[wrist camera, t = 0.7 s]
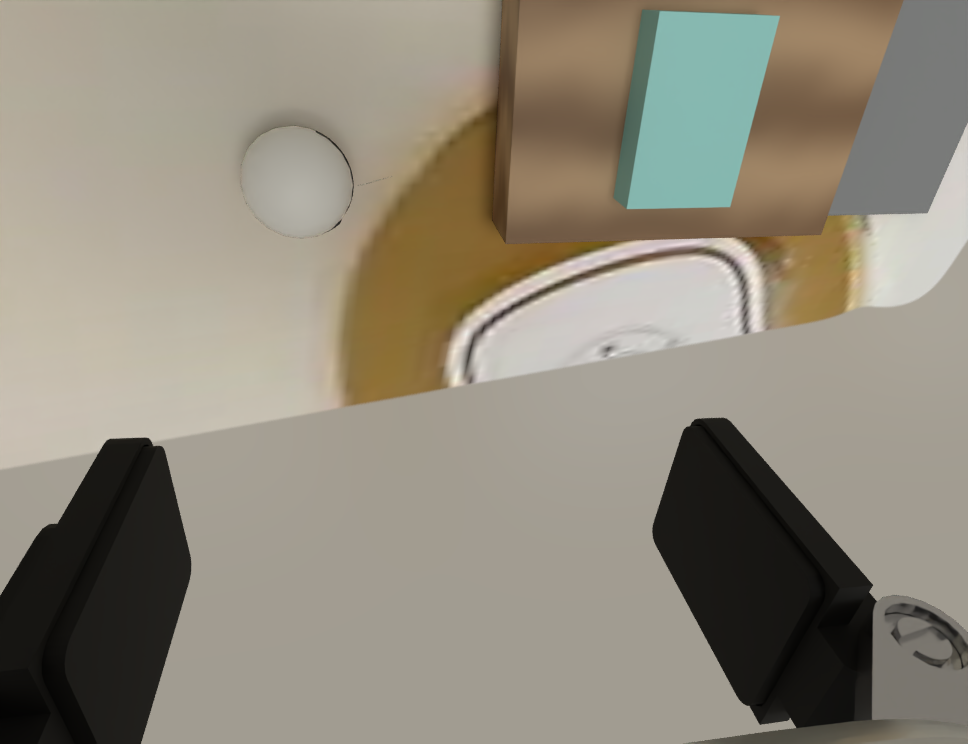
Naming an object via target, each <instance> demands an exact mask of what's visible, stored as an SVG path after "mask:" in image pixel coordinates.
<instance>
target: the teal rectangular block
mask: <svg viewBox="0 0 968 744" xmlns="http://www.w3.org/2000/svg"><path fill="white" fill-rule="evenodd" d="M779 18H780V16H774V15H760V14H739V13H714V12H689V11H665V10H642V15H641V21H640V28H639V34H638V41H637V47H636V54H635V60H634V67H633V73H632V80H631V86H630V93H629V99H628V106H627V112H626V119H625V125H624V132H623V138H622V145H621V151H620V158H619V164H618V171H617V178H616V184H615V191H614V197H613V198H614V199H615V200H616V201H617V202H619V203H620V204H621V205H622V206H624V207H625V208H626V209H660V208H712V207H730V206H731V202H732V198H733V194H734V190H735V187H736V183H737V179H738V175H739V171H740V167H741V164H742V160H743V156H744V152H745V148H746V144H747V141H748V137H749V133H750V129H751V125H752V121H753V118H754V114H755V110H756V106H757V102H758V99H759V95H760V91H761V87H762V83H763V79H764V76H765V72H766V68H767V64H768V60H769V56H770V53H771V49H772V45H773V41H774V37H775V33H776V30H777V26H778V22H779Z"/></svg>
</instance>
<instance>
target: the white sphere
mask: <svg viewBox="0 0 968 744" xmlns="http://www.w3.org/2000/svg"><path fill="white" fill-rule="evenodd" d="M391 177H392V176H391ZM388 178H389V177H388ZM385 179H386V178H385ZM380 180H382V179H380ZM376 181H378V180H376ZM373 182H374V181H373ZM370 183H371V182H370ZM367 184H368V183H367ZM362 185H364V184H362ZM358 186H360V185H358ZM241 188H242V192H243V195H244V198H245V201H246V204H247V205H248V207H249V208H250V210H251V211H252V213H253V214H254V216H255V217H256V218H257V219H258V220H259V221H260V222H262V223H263V224H264V225H265V226H266V227H268V228H269V229H271V230H273V231H275V232H277V233H279V234H281V235H284V236H288V237H295V238H308V237H316V236H319V235H321V234H323V233H326V232H328V231H330V230H332V229H333V228H335V227H336V226H338V225H339V224H340V222H341V220H342V218H343V216H344V215H345V213H346V211H347V210H348V208H349V206H350V203H351V200H352V196H353V188H354V186H353V176H352V172H351V168H350V166H349V163H348V161H347V159H346V157H345V156H344V154H343V153H342V151H341V150H340V149H339V148H338V146H337V145H336V144H335V143H334V142H332V141H331V140H330V139H329V138H327V137H326V136H325V135H323V134H321V133H319V132H317V131H314V130H312V129H309V128H304V127H299V126H287V127H279V128H274V129H272V130H270V131H268V132H266V133H264V134H262V135H260V136H259V137H258V138H257V139H256V140H255V141H254V142H253V143H252V144H251V145H250V146H249V148H248V149H247V151H246V154H245V156H244V159H243V161H242V164H241Z"/></svg>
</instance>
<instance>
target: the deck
mask: <svg viewBox="0 0 968 744" xmlns="http://www.w3.org/2000/svg"><path fill="white" fill-rule="evenodd" d="M903 1H904V0H502V21H501V43H500V65H499V87H498V109H497V131H496V153H495V175H494V197H493V219H492V221H493V223H494V224H495V226H496V228H497V230H498V231H499V233H500V235H501V237H502V238H503V240H504V242H505V244H522V243H557V242H592V241H627V240H661V239H696V238H731V237H766V236H800V235H821V233H822V231H823V228H824V225H825V222H826V219H827V216H828V214H829V211H830V208H831V205H832V202H833V199H834V197H835V194H836V191H837V188H838V185H839V182H840V180H841V177H842V174H843V171H844V168H845V165H846V163H847V160H848V157H849V154H850V151H851V148H852V146H853V143H854V140H855V137H856V134H857V131H858V129H859V126H860V123H861V120H862V117H863V114H864V111H865V109H866V106H867V103H868V100H869V97H870V94H871V92H872V89H873V86H874V83H875V80H876V77H877V75H878V72H879V69H880V66H881V63H882V60H883V58H884V55H885V52H886V49H887V46H888V43H889V41H890V38H891V35H892V32H893V29H894V26H895V24H896V21H897V18H898V15H899V12H900V9H901V7H902V4H903ZM642 10H665V11H689V12H714V13H739V14H760V15H774V16H780V18H779V22H778V26H777V30H776V33H775V37H774V41H773V45H772V49H771V53H770V56H769V60H768V64H767V68H766V72H765V76H764V79H763V83H762V87H761V91H760V95H759V99H758V102H757V106H756V110H755V114H754V118H753V121H752V125H751V129H750V133H749V137H748V141H747V144H746V148H745V152H744V156H743V160H742V164H741V167H740V171H739V175H738V179H737V183H736V187H735V190H734V194H733V198H732V202H731V206H730V207H712V208H660V209H626V208H625V207H624V206H622V205H621V204H620V203H619V202H617V201H616V200H615V199H614V198H613V197H614V191H615V184H616V178H617V171H618V164H619V158H620V151H621V145H622V138H623V132H624V125H625V119H626V112H627V106H628V99H629V93H630V86H631V80H632V73H633V67H634V60H635V54H636V47H637V41H638V34H639V28H640V21H641V15H642Z"/></svg>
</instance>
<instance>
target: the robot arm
mask: <svg viewBox="0 0 968 744" xmlns="http://www.w3.org/2000/svg"><path fill="white" fill-rule="evenodd" d="M652 532H653V539H654V542H655V544H656V546H657V548H658V550H659V552H660V554H661V556H662V558H663V559H664V561H665V563H666V565H667V567H668V569H669V571H670V573H671V574H672V576H673V578H674V580H675V582H676V584H677V585H678V587H679V589H680V591H681V593H682V594H683V597H684V599H685V600H686V602H687V604H688V606H689V608H690V610H691V612H692V613H693V615H694V617H695V619H696V621H697V622H698V625H699V626H700V628H701V630H702V632H703V634H704V636H705V638H706V639H707V641H708V643H709V645H710V647H711V649H712V651H713V652H714V654H715V656H716V658H717V660H718V662H719V664H720V666H721V667H722V669H723V671H724V673H725V675H726V677H727V678H728V680H729V682H730V684H731V686H732V688H733V690H734V692H735V693H736V695H737V697H738V698H739V700H740V701H741V702H742V703H743V704H745V705H747V706H750V708H751V710H752V711H753V713H754V715H755V717H756V719H757V721H758V722H759V724H760V725H761V724H768V723H775V722H782V721H788V720H789V718H791V720H792V721H793V723H794V725H795V726H796V728H794V729H786V730H778V731H769V732H762V733H755V734H748V735H741V736H735V737H727V738H720V739H713V740H705V741H699V742H692V743H684V744H968V632H967V631H966V630H965V629H964V628H963V627H962V626H960V625H959V623H957V622H956V621H955V620H954V619H952V618H951V617H950V616H948V615H947V614H945V613H944V612H942V611H941V610H940V609H938V608H935V607H934V606H932V605H930V604H928V603H926V602H923V601H921V600H917V599H914V598H911V597H908V596H899V595H891V596H886V597H882V598H881V599H880V600H879V601H876V600H875V599H874V598H873V596H872V595H871V594H870V593H869V591H870V589H871V588H872V586H873V584H872V583H871V582H870V581H869V580H868V579H867V577H866V576H865V575H864V574H863V573H862V572H861V571H860V569H859V568H858V567H857V566H856V565H855V564H854V563H853V562H852V561H851V559H850V558H849V557H848V556H847V555H846V553H845V552H844V551H843V550H842V549H841V548H840V547H839V545H838V544H837V543H836V542H835V541H834V540H833V539H832V538H831V536H830V535H829V534H828V533H827V532H826V531H825V529H824V528H823V527H822V526H821V525H820V524H819V523H818V521H817V520H816V519H815V518H814V517H813V516H812V514H811V513H810V512H809V511H808V510H807V509H806V508H805V506H804V505H803V504H802V503H801V502H800V501H799V500H798V498H797V497H796V496H795V495H794V494H793V493H792V492H791V490H790V489H789V488H788V487H787V486H786V485H785V483H784V482H783V481H782V480H781V479H780V478H779V477H778V475H777V474H776V473H775V472H774V471H773V470H772V469H771V467H770V466H769V465H768V464H767V463H766V462H765V461H764V459H763V458H762V457H761V456H760V455H759V454H758V453H757V451H756V450H755V449H754V448H753V447H752V446H751V445H750V443H749V442H748V441H747V440H746V439H745V438H744V437H743V435H742V434H741V433H740V432H739V431H738V430H737V428H736V427H735V426H734V425H733V424H732V423H731V422H730V421H729V420H728V419H725V418H704V419H703V418H702V419H695V420H694V421H693V422H692V423H691V426H689V427H686V428H685V429H684V431H683V433H682V436H681V439H680V442H679V446H678V448H677V452H676V455H675V458H674V461H673V464H672V467H671V470H670V473H669V477H668V480H667V483H666V486H665V489H664V492H663V495H662V498H661V501H660V505H659V508H658V511H657V514H656V517H655V520H654V523H653V531H652ZM190 575H191V557H190V553H189V548H188V544H187V540H186V536H185V532H184V528H183V524H182V520H181V516H180V511H179V507H178V503H177V499H176V495H175V491H174V487H173V483H172V479H171V474H170V470H169V466H168V462H167V458H166V454H165V451H164V448H163V447H162V446H153V444H152V442H151V440H150V439H149V438H121V439H109V440H107V441H106V442H105V443H104V445H103V447H102V448H101V450H100V452H99V453H98V455H97V457H96V459H95V460H94V462H93V464H92V466H91V467H90V469H89V471H88V472H87V474H86V476H85V478H84V479H83V481H82V483H81V484H80V486H79V488H78V489H77V491H76V493H75V495H74V497H73V498H72V500H71V502H70V503H69V505H68V507H67V509H66V510H65V512H64V514H63V515H62V517H61V519H60V520H59V522H58V524H49V525H47V526H46V527H44V528H43V529H42V530H41V531H40V533H39V534H38V535H37V536H36V538H35V539H34V541H33V543H32V545H31V546H30V548H29V549H28V551H27V553H26V554H25V556H24V558H23V559H22V561H21V562H20V564H19V566H18V568H17V569H16V571H15V572H14V574H13V576H12V577H11V579H10V581H9V582H8V584H7V585H6V587H5V589H4V590H3V592H2V594H1V595H0V744H141V741H142V738H143V734H144V731H145V728H146V725H147V721H148V718H149V715H150V711H151V708H152V704H153V701H154V698H155V694H156V691H157V688H158V684H159V681H160V677H161V674H162V671H163V668H164V664H165V661H166V657H167V654H168V650H169V648H170V644H171V640H172V637H173V634H174V630H175V627H176V624H177V621H178V617H179V614H180V611H181V607H182V604H183V601H184V597H185V594H186V590H187V587H188V584H189V580H190Z"/></svg>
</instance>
